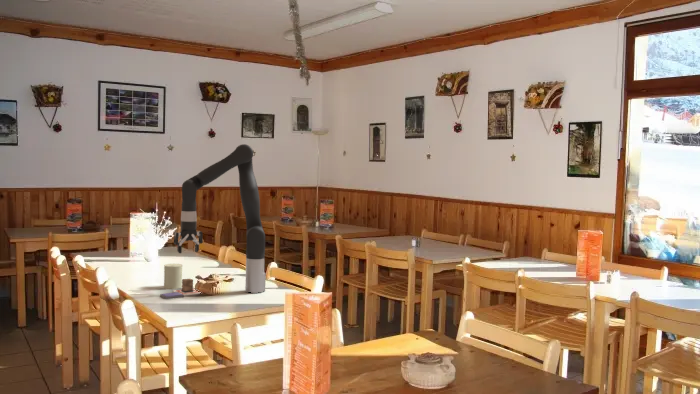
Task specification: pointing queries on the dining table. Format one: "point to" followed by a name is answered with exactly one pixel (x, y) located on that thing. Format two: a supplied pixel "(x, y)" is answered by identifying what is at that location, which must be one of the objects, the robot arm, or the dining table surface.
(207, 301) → the dining table surface
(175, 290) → the print board
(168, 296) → the ink pad
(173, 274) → the can
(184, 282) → the stamp
